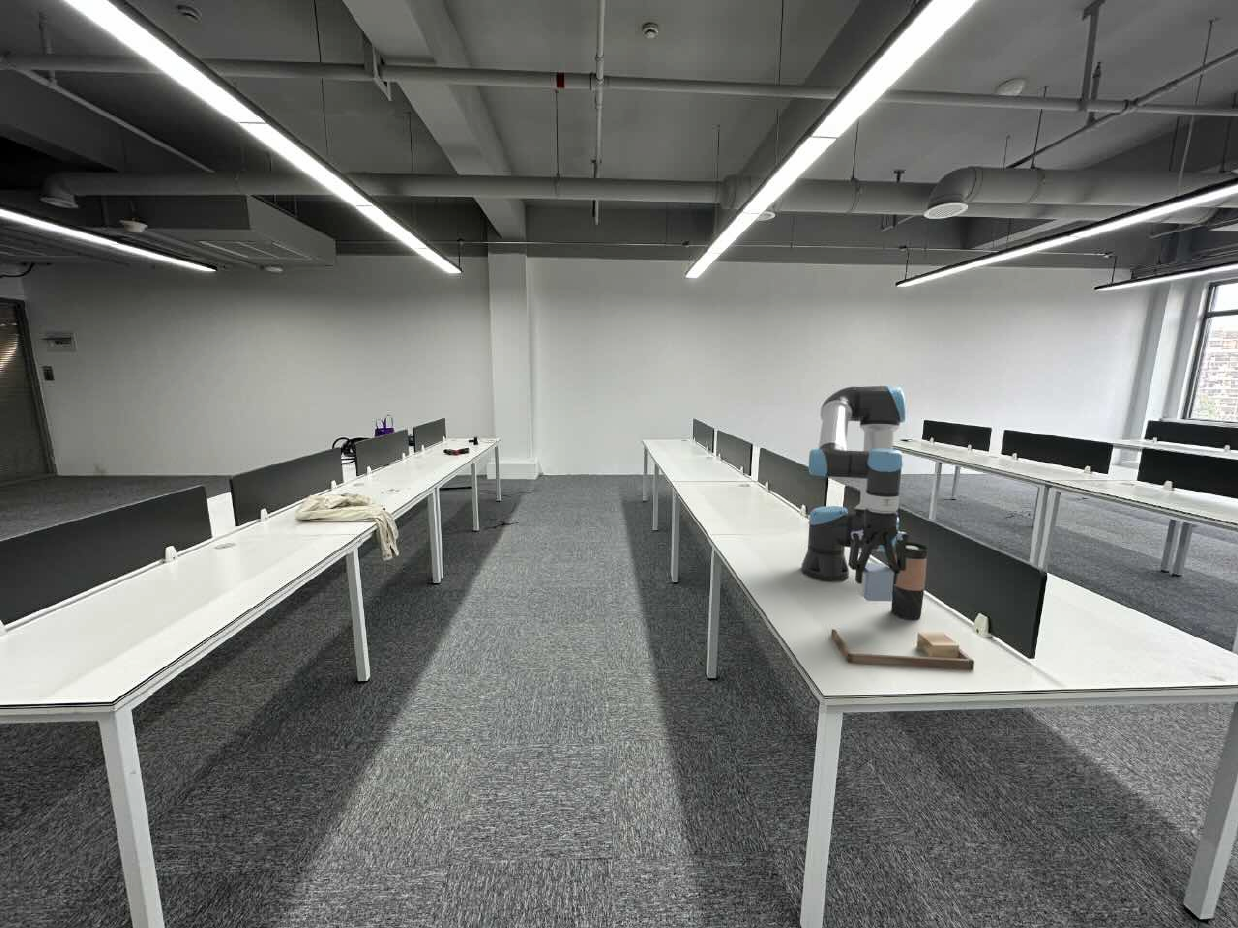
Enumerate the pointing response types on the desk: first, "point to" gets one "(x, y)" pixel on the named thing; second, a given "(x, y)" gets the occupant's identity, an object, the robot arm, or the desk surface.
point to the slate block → (878, 582)
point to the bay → (903, 658)
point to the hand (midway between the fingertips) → (874, 594)
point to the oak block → (937, 645)
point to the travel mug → (910, 583)
